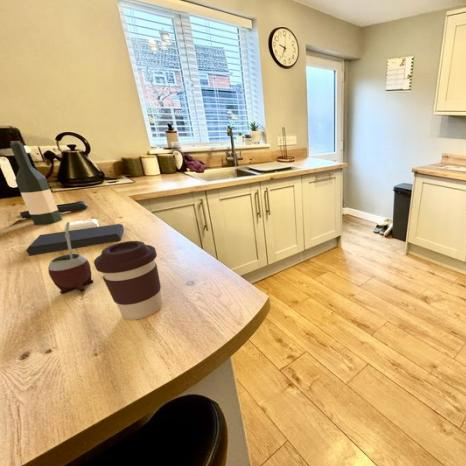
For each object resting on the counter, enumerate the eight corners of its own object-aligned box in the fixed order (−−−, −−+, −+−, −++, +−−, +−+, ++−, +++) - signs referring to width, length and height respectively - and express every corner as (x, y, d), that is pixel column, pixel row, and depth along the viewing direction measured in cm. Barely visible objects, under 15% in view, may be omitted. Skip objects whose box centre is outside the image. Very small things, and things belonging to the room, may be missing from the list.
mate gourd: (65, 299, 66) (39, 238, 60) (51, 289, 69) (25, 231, 63) (103, 283, 72) (83, 227, 66) (89, 275, 75) (68, 221, 69)
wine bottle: (41, 226, 108) (5, 142, 96) (27, 223, 110) (-9, 141, 99) (67, 219, 115) (37, 140, 104) (54, 217, 117) (23, 140, 106)
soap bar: (66, 229, 105) (63, 222, 104) (98, 224, 110) (96, 218, 109) (65, 233, 101) (62, 226, 100) (98, 228, 106) (95, 221, 105)
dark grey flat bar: (28, 255, 85) (25, 248, 84) (41, 241, 95) (38, 234, 94) (120, 240, 96) (118, 233, 95) (124, 229, 106) (122, 223, 105)
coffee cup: (144, 328, 57) (122, 260, 51) (102, 321, 59) (76, 256, 53) (180, 299, 66) (164, 239, 60) (142, 294, 68) (124, 235, 62)
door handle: (22, 206, 122) (18, 213, 111) (84, 198, 135) (86, 203, 124) (25, 214, 123) (22, 221, 112) (86, 205, 136) (89, 210, 125)
